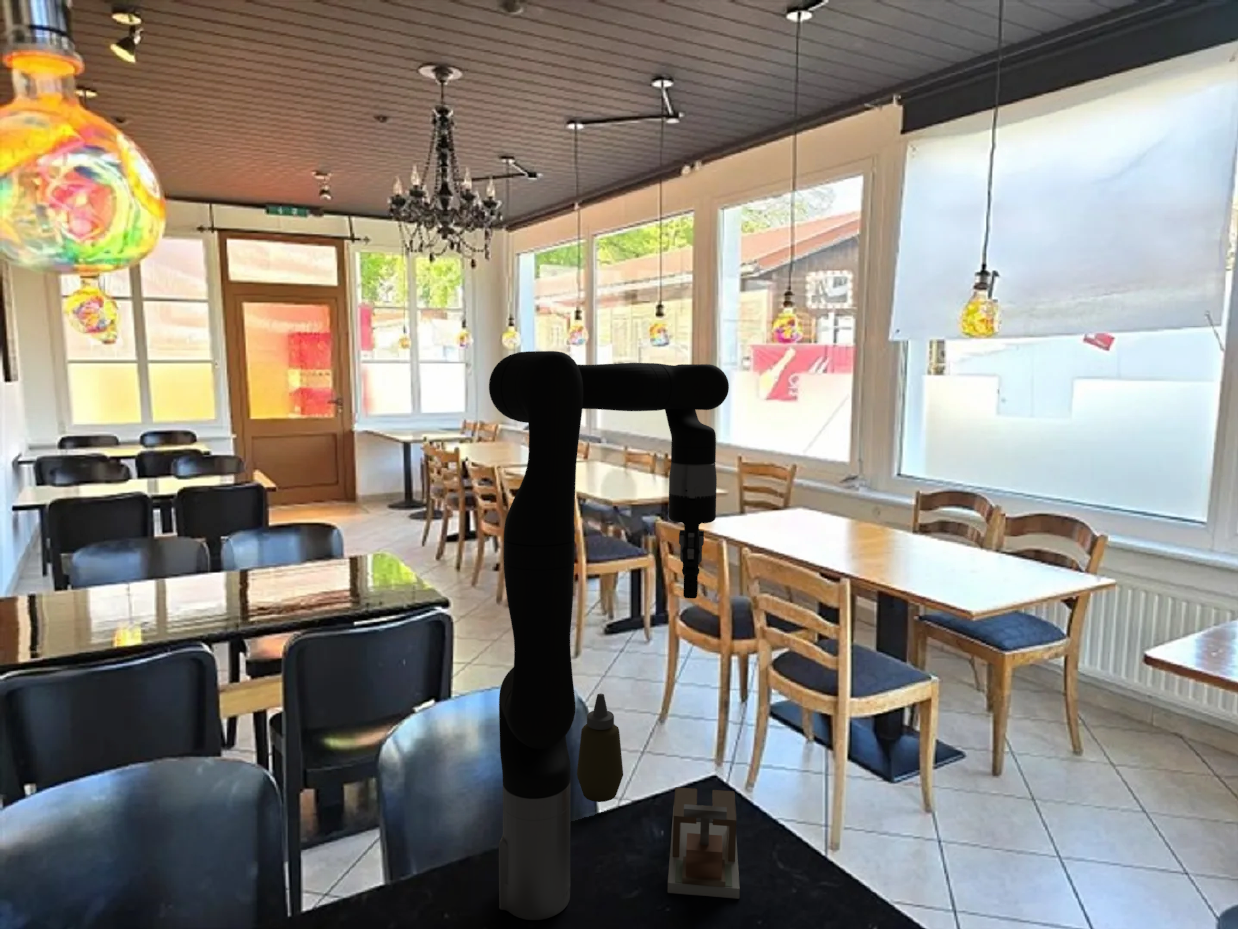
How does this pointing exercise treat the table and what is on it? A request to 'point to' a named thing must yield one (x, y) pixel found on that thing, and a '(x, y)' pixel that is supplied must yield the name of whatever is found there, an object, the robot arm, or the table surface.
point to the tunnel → (716, 827)
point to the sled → (704, 849)
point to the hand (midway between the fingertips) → (690, 597)
